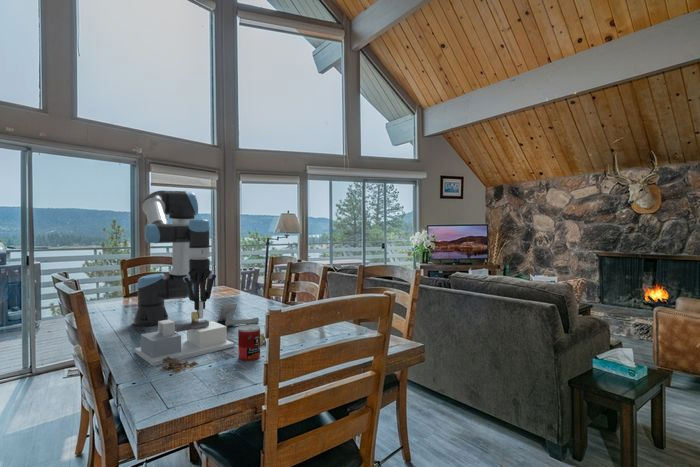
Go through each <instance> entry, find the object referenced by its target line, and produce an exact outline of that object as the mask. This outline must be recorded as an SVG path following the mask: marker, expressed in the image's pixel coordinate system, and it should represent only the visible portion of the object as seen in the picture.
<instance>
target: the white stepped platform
mask: <svg viewBox="0 0 700 467" xmlns="http://www.w3.org/2000/svg"><path fill="white" fill-rule="evenodd" d="M175 325H176V321H174V320H171V319H168V320H163V321H158V325H157V331H156V330H155V331H152V332H146V333H141V334H140V347H135V348H134V353H135V354H136V355H138V356H139V357H140V358H142V359H143V360H144V361H145V362H147V363H148V364H150V366H152V367H156V366H159V365H160V366H161V365H164V364H166V363H163V359H164V358H167V357H170V358H177V359H178V360H179V361H181V360H184V359H190V358H192V357H197V356H201V355H206V354H210V353H214V352H219V351H223V350H228V349H230V348H234V347H235V343H234V342H232V341H230V340H228V339H227V337H228V335H227V334H228V333H227V330H228V329H227V328H228V327H227V326H225V325H223V324H221V323H218V322H216V321H213V320H212V321H209V326H207V327H201V328H196V329H191V330H186V337H185V338H182V335H181V334H179V333H178V332H176V331H175Z"/></svg>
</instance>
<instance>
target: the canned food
mask: <svg viewBox="0 0 700 467" xmlns="http://www.w3.org/2000/svg"><path fill="white" fill-rule="evenodd" d="M237 331H238V332H237V335H238V336H237V338H238V339H237V340H238V341H237V342H238V354H237V355H238V358H239V360H241V361H243V362H244V361H245V362H251V361H255V360H257V359H260V356H261V346H260V334H261V327H260V326H259V325H257V324H243V325H240V326H239V327H238V330H237Z"/></svg>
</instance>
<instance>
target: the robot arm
mask: <svg viewBox="0 0 700 467" xmlns="http://www.w3.org/2000/svg"><path fill="white" fill-rule="evenodd" d="M141 209H142V212H143V214H144V215H146V216H145V217H146V219H147V224H146V225H144V240H145V243H146V244H169V243H170V244H172V247H171V248H172V252H171V253H172V254H171V256H172V260H171V261H172V263H171V264H172V266H171V267H172V268H171V270H170V271H169V272H168V275H165V274H164V273H163V272H161V273H151V274H147V275H144V276H141V277H139V278H138V279H137V309H136V312H135V316H134V318H133V325H134V326H138V327H149V326H150V327H151V326H158V321H163V320H169V314H168V312H167V309H166V306H165V301H166V300H177V299H188V300H189V301H190V302H191V301H192V302H193V304H194V305H193V306H194V310H195V311H196V312H198V320H199V319H201V320H202V319H204V310H206V302H207V300H209V299H211V294H212V290H213V287H214V286H213V285H214V282H215V279H216V278H217V275H216V274H213V273H212V272H211V270H210V265H211V263H210V228H211V227H210V220H208V219H205V218H203V219H201V218H200V219H197V218H196V219H195V216H198V215H199V204H198V198H197V196H196V194H195V193H194V192H192V191H188V190H162V189H161V190H156V191H153V192H151V193H149V194H148V195H146V196H145V198H144V199H143V201H142V203H141ZM167 216H169V217H168V218H169V220H170V221H171V222H172V223H169V221H168V218H167Z"/></svg>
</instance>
